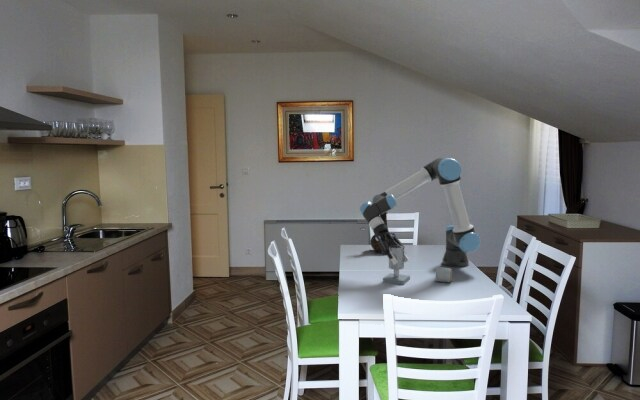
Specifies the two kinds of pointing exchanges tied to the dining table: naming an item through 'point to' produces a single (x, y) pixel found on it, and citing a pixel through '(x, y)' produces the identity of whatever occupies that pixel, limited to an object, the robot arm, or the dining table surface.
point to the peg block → (396, 278)
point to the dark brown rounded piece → (373, 241)
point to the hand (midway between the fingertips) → (401, 262)
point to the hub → (397, 257)
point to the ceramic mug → (443, 274)
